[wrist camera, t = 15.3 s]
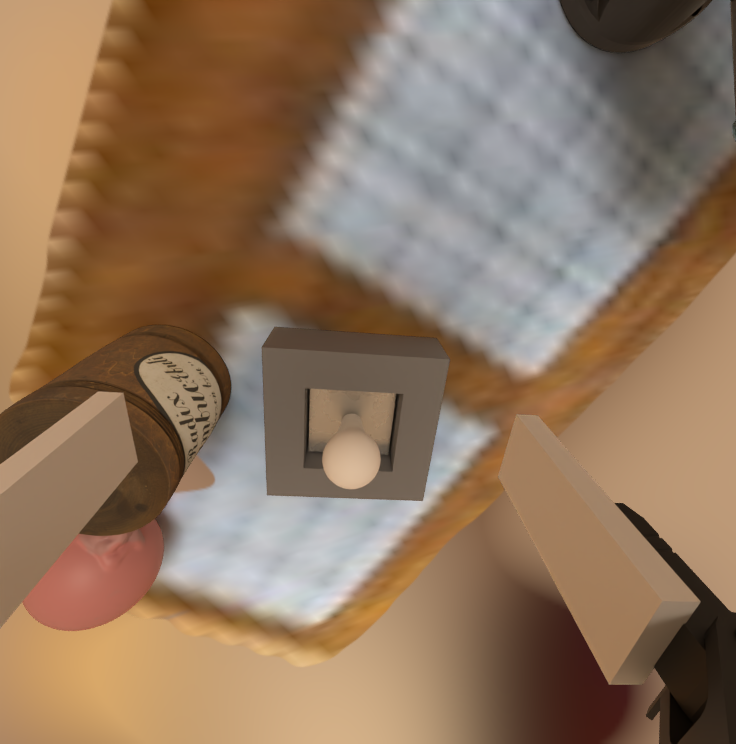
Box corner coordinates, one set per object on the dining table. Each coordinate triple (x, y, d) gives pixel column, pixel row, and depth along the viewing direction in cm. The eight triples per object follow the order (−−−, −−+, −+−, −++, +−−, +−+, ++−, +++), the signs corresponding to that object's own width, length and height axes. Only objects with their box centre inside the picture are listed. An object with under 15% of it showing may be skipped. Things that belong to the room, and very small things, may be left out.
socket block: (436, 338, 46) (449, 359, 40) (414, 466, 54) (422, 500, 48) (274, 326, 45) (261, 347, 38) (277, 460, 53) (267, 495, 47)
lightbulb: (324, 436, 47) (316, 499, 37) (330, 394, 44) (323, 449, 34) (371, 441, 48) (376, 505, 38) (379, 400, 45) (388, 456, 35)
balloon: (218, 494, 55) (173, 593, 41) (149, 565, 61) (89, 673, 47) (122, 437, 50) (34, 527, 36) (57, 520, 56) (-41, 625, 42)
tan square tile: (394, 373, 47) (397, 384, 44) (386, 441, 51) (388, 454, 48) (312, 368, 46) (310, 378, 43) (310, 437, 50) (308, 451, 48)
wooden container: (242, 423, 50) (171, 569, 30) (134, 432, 50) (-10, 584, 30) (216, 318, 44) (105, 414, 24) (92, 328, 44) (-123, 433, 24)
